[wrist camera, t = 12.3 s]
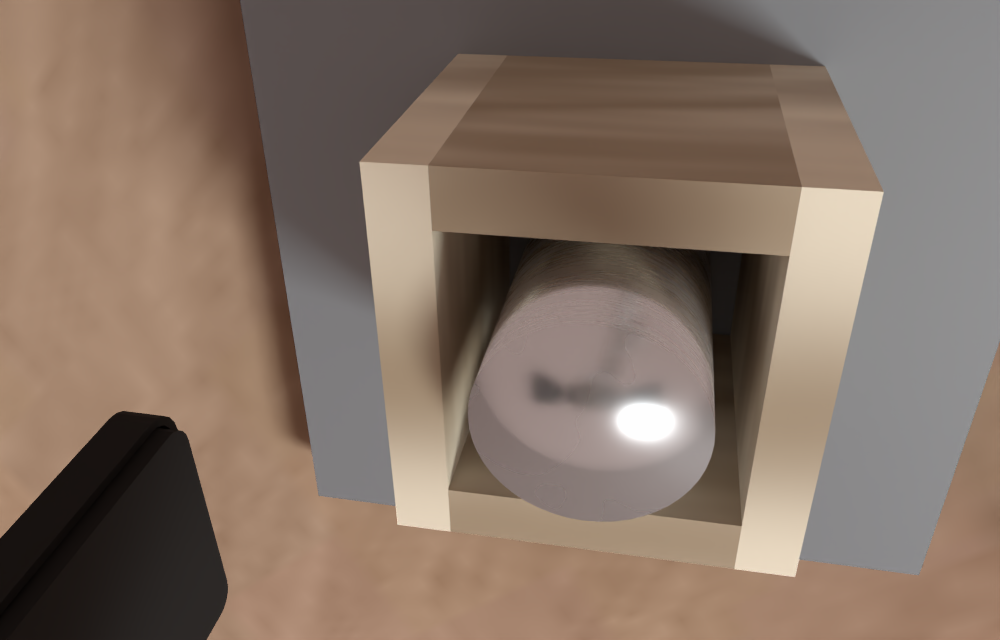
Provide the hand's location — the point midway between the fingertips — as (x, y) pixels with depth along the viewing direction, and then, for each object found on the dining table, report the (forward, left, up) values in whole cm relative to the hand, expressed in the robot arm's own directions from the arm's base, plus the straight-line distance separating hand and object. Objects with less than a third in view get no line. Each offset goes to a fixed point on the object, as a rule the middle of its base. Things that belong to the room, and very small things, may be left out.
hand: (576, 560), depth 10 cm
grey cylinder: (+1, 0, -10) cm, 10 cm away
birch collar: (+1, 0, -10) cm, 10 cm away
